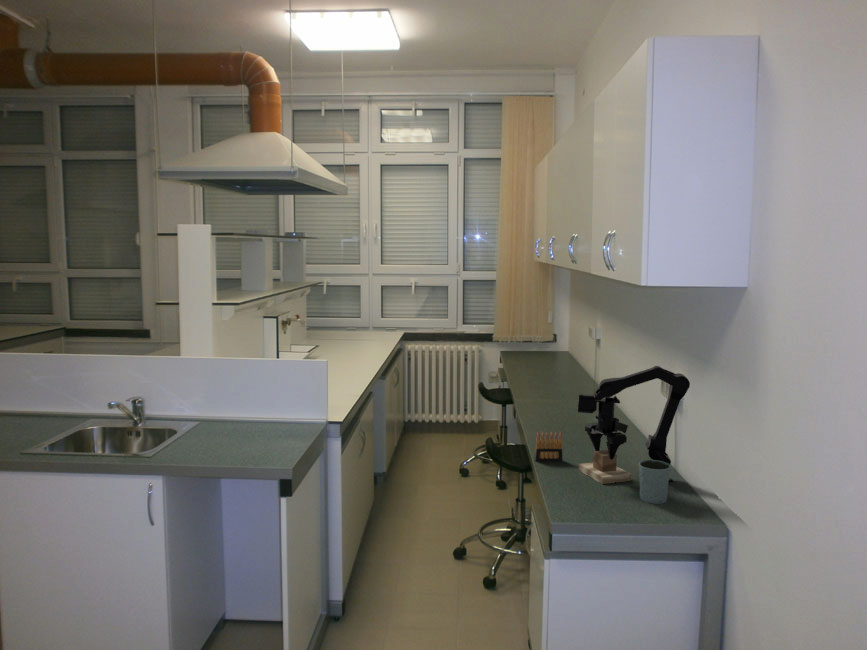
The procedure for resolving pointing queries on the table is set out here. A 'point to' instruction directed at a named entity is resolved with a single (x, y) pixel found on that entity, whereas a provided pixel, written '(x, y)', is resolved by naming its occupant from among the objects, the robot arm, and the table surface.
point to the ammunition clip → (548, 448)
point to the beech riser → (605, 474)
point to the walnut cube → (604, 461)
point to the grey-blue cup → (654, 481)
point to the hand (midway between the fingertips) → (604, 455)
